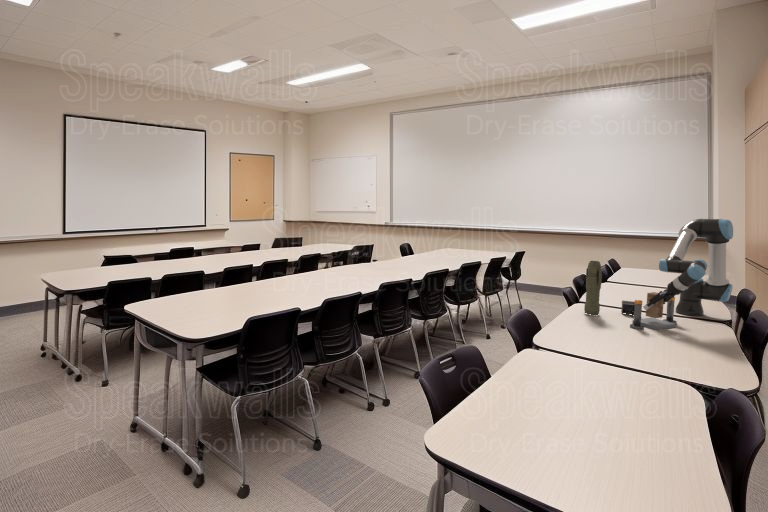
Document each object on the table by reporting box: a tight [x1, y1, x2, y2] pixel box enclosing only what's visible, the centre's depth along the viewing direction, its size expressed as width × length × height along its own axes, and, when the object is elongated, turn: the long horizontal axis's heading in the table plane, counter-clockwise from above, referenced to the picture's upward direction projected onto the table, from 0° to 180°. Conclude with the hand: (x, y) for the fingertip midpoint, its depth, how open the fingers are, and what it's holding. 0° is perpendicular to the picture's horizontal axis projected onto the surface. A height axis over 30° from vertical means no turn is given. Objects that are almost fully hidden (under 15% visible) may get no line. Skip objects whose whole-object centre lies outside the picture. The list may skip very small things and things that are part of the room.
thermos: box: [583, 260, 603, 315], centre depth 282 cm, size 9×12×35 cm
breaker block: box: [645, 291, 664, 319], centre depth 258 cm, size 6×7×14 cm
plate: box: [632, 317, 676, 331], centre depth 259 cm, size 16×15×2 cm
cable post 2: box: [662, 296, 677, 325], centre depth 263 cm, size 7×7×16 cm
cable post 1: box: [629, 299, 645, 330], centre depth 253 cm, size 7×7×16 cm
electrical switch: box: [620, 299, 635, 316], centre depth 283 cm, size 9×5×9 cm, turn 57°
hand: (648, 308), depth 261 cm, fingers closed on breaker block, 6 cm apart
